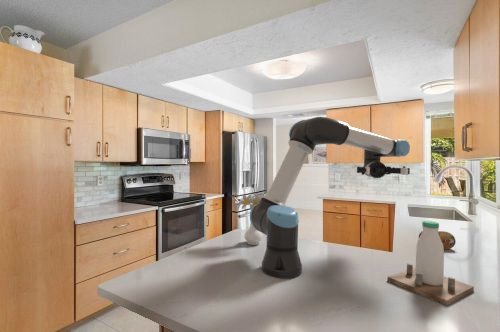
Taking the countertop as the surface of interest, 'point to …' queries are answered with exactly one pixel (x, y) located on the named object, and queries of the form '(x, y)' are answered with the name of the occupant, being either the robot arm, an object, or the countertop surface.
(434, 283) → the milk bottle
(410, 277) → the peg board
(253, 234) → the flower vase
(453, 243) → the tin
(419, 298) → the countertop surface
